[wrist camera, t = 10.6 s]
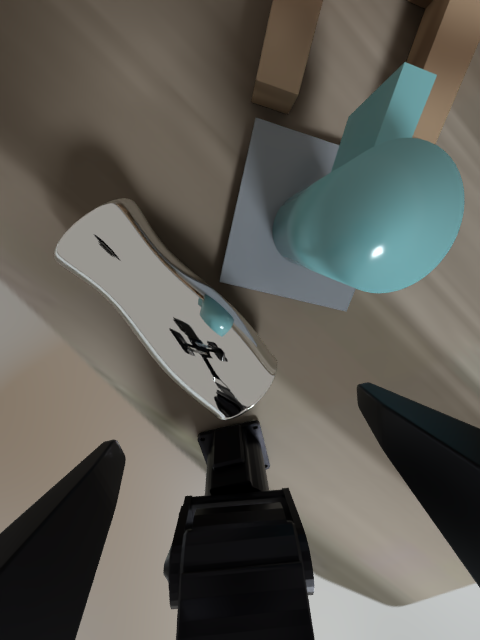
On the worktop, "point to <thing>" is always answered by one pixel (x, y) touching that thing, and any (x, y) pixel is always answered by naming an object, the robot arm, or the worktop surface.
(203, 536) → the robot arm
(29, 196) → the worktop surface
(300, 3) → the bracket
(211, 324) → the beer glass
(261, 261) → the coaster
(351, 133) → the teal gourd with tab
